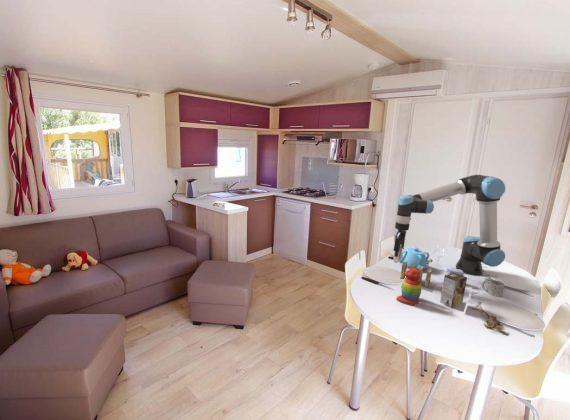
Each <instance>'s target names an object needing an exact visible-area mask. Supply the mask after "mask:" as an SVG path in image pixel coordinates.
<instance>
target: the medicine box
mask: <svg viewBox="0 0 570 420" xmlns="http://www.w3.org/2000/svg"><path fill="white" fill-rule="evenodd" d="M453 273H457V274H460V275H462V276H465V273H464V272H463V271H462V270H460V269H456V268H446V273H445V275H449V274H453Z"/></svg>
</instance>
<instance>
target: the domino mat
mask: <svg viewBox="0 0 570 420" xmlns="http://www.w3.org/2000/svg"><path fill="white" fill-rule="evenodd" d="M425 281H426V280H421V291H426V292H429V293H434V290H435V289H436V287H437V284H436V283H432V282H430V284H429V287H428V288H425Z"/></svg>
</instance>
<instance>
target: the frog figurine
mask: <svg viewBox="0 0 570 420" xmlns="http://www.w3.org/2000/svg"><path fill="white" fill-rule="evenodd" d="M488 318H489V319H487V318H486V319H485V320H484V322H485V323H483V326H484V328H485V329H486V330H488V329H493V330H489V332H491V333H492V334H496V333H498V334H500V335H502V336H506V337H508V336H509V335H510V334H511V333H510V332H507V331H506V330H504V329H502V323H501V321H498V319H497V316H496V315H495V316H494V315H490V316H489V317H488ZM504 328H506V329H507V330H509V328H508V327H506V326H504Z"/></svg>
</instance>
